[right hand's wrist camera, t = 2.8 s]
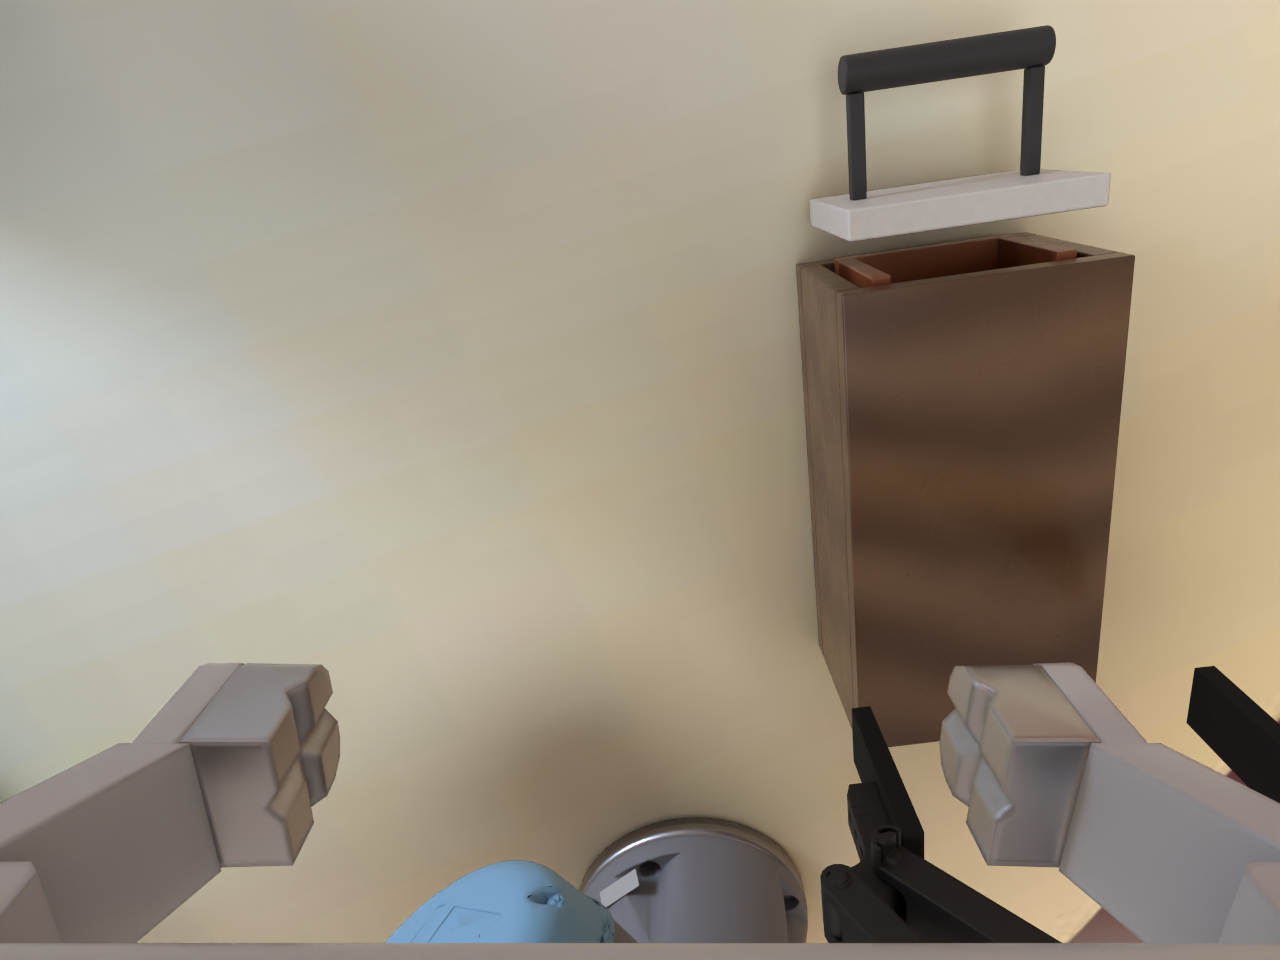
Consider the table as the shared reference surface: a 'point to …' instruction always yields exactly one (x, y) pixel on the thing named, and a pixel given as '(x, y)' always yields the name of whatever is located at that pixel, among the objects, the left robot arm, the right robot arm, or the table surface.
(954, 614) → the wooden drawer box
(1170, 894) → the right robot arm
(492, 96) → the table surface
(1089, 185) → the drawer
